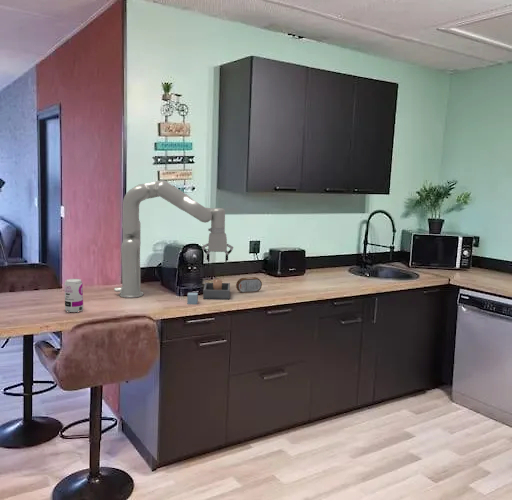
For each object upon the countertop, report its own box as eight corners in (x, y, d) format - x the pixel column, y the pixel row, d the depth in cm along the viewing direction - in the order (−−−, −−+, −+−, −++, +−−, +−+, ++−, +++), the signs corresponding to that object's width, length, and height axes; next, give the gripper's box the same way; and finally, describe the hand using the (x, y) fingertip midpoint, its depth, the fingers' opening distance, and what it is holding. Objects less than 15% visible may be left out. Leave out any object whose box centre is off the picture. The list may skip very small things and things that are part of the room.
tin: (260, 290, 303) (260, 276, 302) (262, 291, 300) (262, 277, 299) (235, 292, 298) (236, 277, 296) (237, 293, 295) (238, 279, 293)
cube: (187, 304, 269) (187, 294, 269) (188, 301, 274) (188, 292, 274) (197, 304, 270) (197, 295, 269) (197, 302, 275) (197, 292, 274)
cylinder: (212, 292, 291) (212, 280, 289) (213, 290, 295) (213, 278, 294) (221, 293, 291) (222, 280, 290) (222, 290, 296) (222, 278, 295)
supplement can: (85, 308, 256) (84, 278, 254) (80, 313, 248) (79, 282, 246) (68, 308, 256) (67, 278, 253) (62, 313, 248) (61, 282, 245)
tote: (203, 299, 280) (203, 290, 279) (205, 291, 298) (205, 282, 297) (229, 299, 281) (229, 290, 280) (229, 291, 299) (229, 283, 298)
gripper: (201, 231, 283) (201, 262, 286) (233, 232, 284) (233, 263, 287) (202, 229, 291) (202, 260, 294) (233, 230, 292) (233, 260, 294)
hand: (217, 261), depth 290 cm, fingers open, 9 cm apart
